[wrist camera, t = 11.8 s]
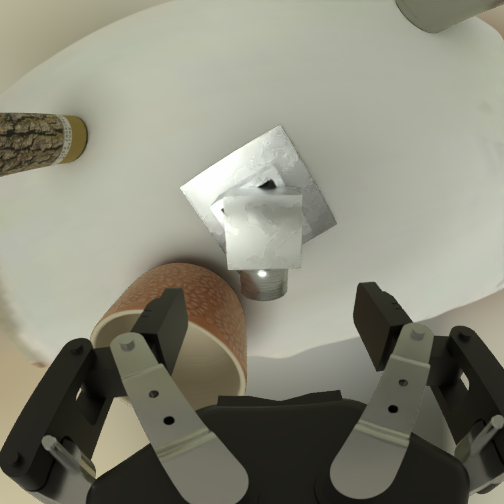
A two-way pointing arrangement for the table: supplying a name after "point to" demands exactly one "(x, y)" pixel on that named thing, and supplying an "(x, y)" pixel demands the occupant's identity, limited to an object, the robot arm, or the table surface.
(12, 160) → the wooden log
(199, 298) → the planter
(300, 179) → the duct socket
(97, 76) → the table surface
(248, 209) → the silver block with cylinder
